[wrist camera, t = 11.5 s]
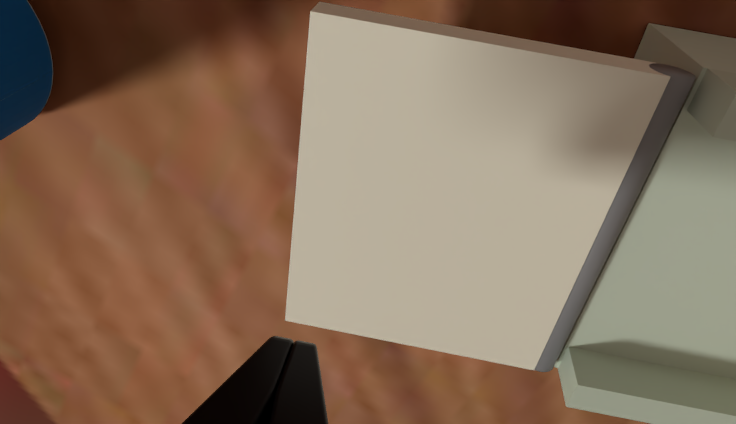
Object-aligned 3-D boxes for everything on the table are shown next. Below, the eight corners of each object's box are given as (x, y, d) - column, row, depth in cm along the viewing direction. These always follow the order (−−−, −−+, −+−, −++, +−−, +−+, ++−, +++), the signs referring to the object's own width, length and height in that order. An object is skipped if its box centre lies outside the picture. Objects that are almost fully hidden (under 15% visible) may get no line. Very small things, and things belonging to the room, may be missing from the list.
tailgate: (551, 351, 18) (556, 374, 17) (292, 299, 18) (285, 320, 17) (686, 68, 13) (703, 83, 12) (319, 1, 13) (310, 11, 12)
